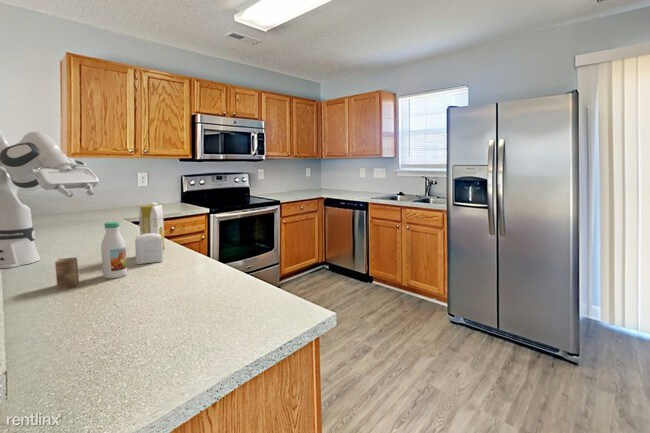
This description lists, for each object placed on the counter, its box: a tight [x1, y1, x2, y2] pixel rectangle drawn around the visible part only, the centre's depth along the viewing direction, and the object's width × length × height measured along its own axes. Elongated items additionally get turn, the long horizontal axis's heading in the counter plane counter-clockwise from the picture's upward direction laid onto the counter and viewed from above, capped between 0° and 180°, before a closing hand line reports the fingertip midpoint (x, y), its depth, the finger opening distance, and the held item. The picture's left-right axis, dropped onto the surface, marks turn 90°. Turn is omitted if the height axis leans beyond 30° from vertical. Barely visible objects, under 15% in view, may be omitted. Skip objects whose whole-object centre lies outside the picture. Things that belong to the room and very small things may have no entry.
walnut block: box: [54, 257, 80, 290], centre depth 118 cm, size 5×5×9 cm
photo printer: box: [134, 233, 164, 265], centre depth 147 cm, size 10×4×12 cm, turn 123°
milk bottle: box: [100, 221, 128, 279], centre depth 128 cm, size 8×8×20 cm
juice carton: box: [138, 202, 165, 255], centre depth 156 cm, size 9×8×24 cm
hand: (81, 195), depth 129 cm, fingers open, 7 cm apart
